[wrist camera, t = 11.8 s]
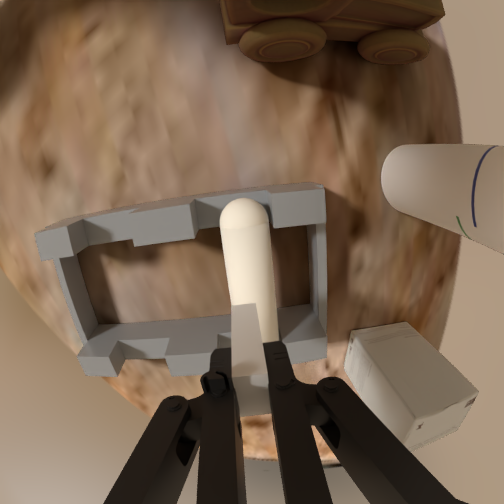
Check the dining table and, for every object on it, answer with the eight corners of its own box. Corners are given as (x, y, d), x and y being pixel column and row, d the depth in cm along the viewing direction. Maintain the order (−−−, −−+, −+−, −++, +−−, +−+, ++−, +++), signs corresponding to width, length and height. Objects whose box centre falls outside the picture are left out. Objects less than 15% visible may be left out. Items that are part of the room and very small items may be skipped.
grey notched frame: (101, 346, 29) (82, 379, 23) (62, 219, 24) (28, 234, 18) (317, 326, 30) (334, 361, 24) (312, 181, 25) (335, 187, 19)
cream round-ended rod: (235, 360, 25) (252, 381, 22) (210, 200, 21) (227, 204, 18) (268, 347, 27) (288, 366, 24) (252, 193, 22) (275, 196, 19)
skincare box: (342, 367, 32) (388, 462, 18) (350, 326, 30) (412, 423, 16) (399, 356, 32) (456, 434, 18) (410, 317, 30) (483, 393, 16)
